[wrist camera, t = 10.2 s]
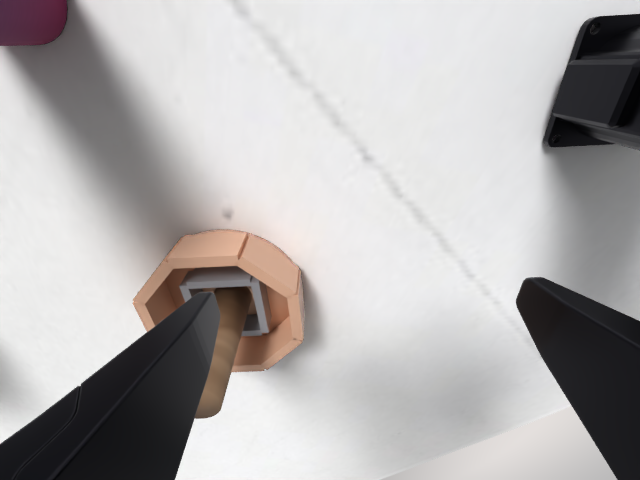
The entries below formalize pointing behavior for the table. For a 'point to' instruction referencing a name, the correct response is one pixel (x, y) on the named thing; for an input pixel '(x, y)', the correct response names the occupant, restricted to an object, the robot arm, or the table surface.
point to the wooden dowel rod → (224, 346)
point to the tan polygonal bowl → (232, 271)
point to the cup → (31, 21)
